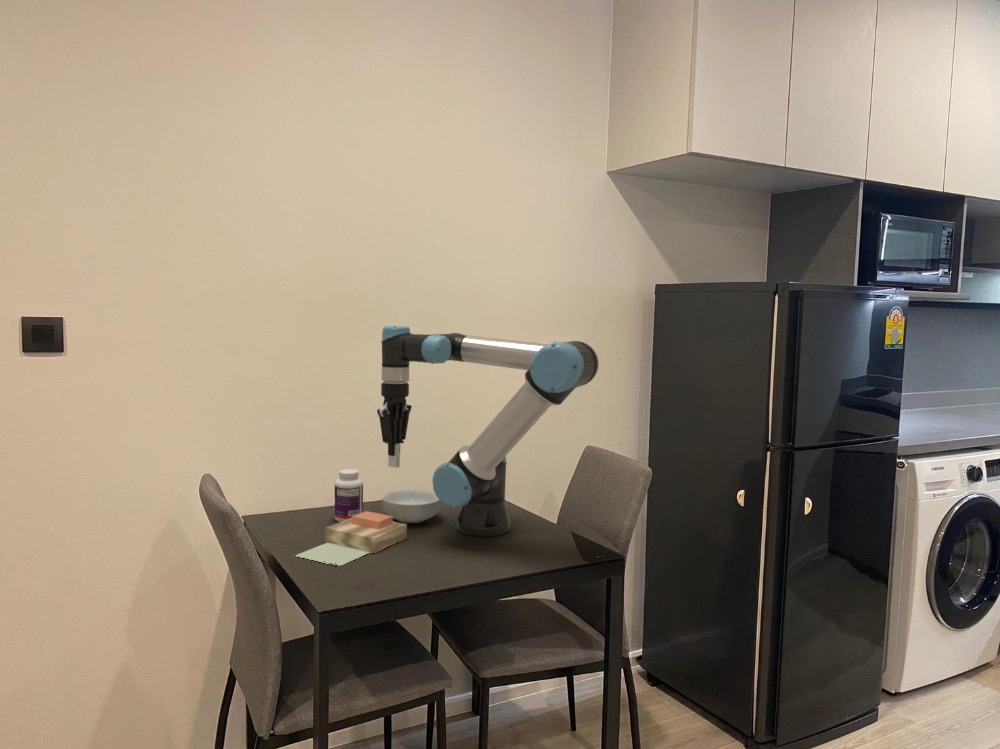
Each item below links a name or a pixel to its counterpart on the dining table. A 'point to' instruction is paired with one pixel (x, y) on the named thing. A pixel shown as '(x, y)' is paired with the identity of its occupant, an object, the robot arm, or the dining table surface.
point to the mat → (333, 554)
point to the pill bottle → (348, 495)
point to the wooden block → (365, 535)
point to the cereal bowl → (411, 505)
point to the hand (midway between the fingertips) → (393, 466)
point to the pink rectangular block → (372, 520)
